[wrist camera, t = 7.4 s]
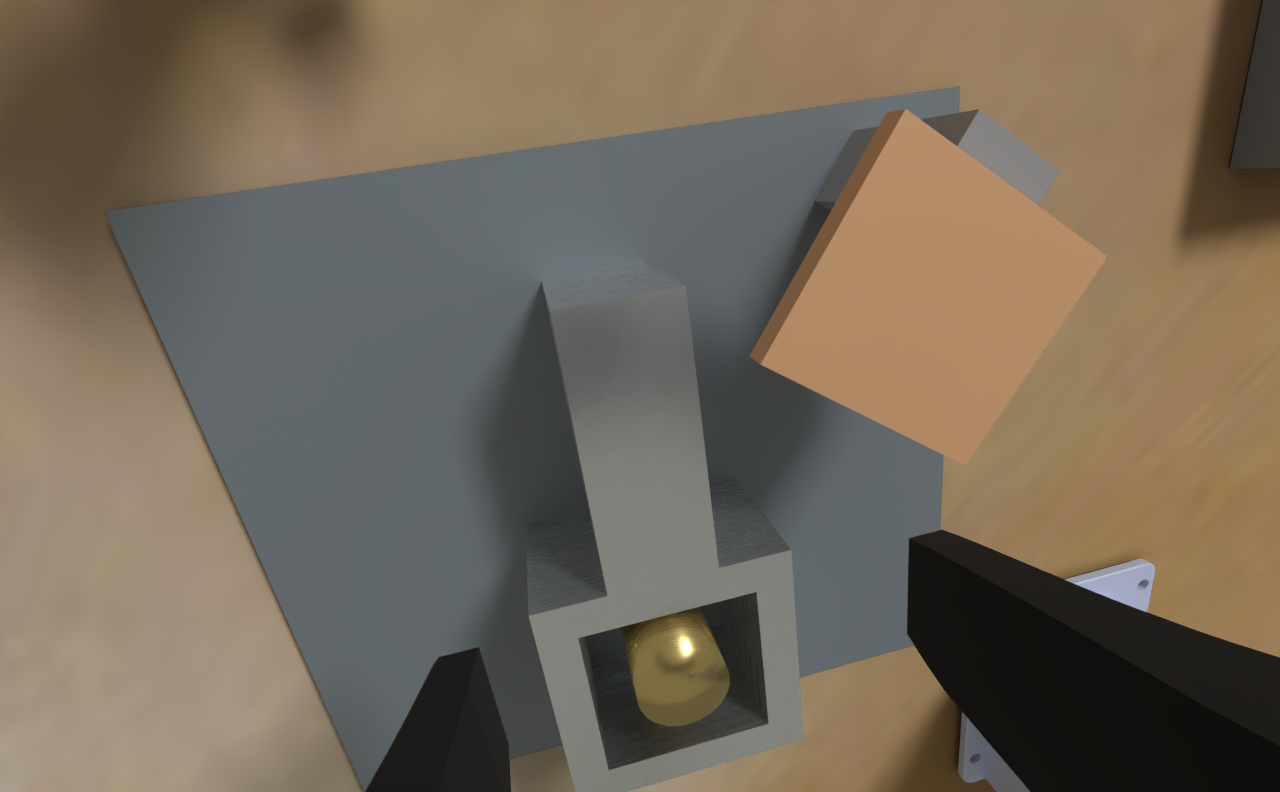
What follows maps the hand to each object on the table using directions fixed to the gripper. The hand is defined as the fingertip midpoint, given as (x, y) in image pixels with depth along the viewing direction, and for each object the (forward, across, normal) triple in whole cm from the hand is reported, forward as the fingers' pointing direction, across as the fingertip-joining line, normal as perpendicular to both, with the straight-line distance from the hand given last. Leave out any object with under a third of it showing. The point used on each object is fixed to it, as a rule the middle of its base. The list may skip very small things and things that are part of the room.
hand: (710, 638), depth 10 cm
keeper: (+9, -7, -4) cm, 12 cm away
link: (+8, 0, +2) cm, 9 cm away
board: (+9, 0, +2) cm, 9 cm away
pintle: (+9, 0, +5) cm, 10 cm away
